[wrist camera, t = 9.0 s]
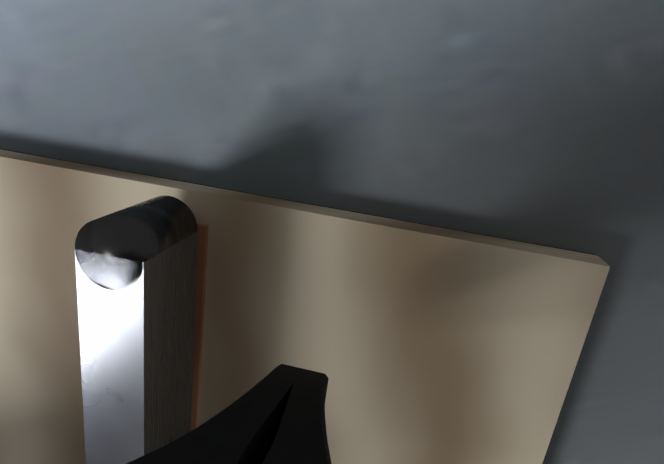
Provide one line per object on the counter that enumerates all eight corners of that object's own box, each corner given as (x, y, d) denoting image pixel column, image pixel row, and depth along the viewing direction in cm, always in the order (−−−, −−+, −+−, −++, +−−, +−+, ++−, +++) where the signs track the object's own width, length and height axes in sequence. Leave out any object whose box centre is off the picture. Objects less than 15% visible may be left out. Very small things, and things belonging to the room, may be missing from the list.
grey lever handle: (244, 588, 20) (208, 687, 16) (98, 544, 21) (37, 629, 17) (279, 210, 14) (236, 243, 11) (82, 176, 15) (-11, 197, 12)
